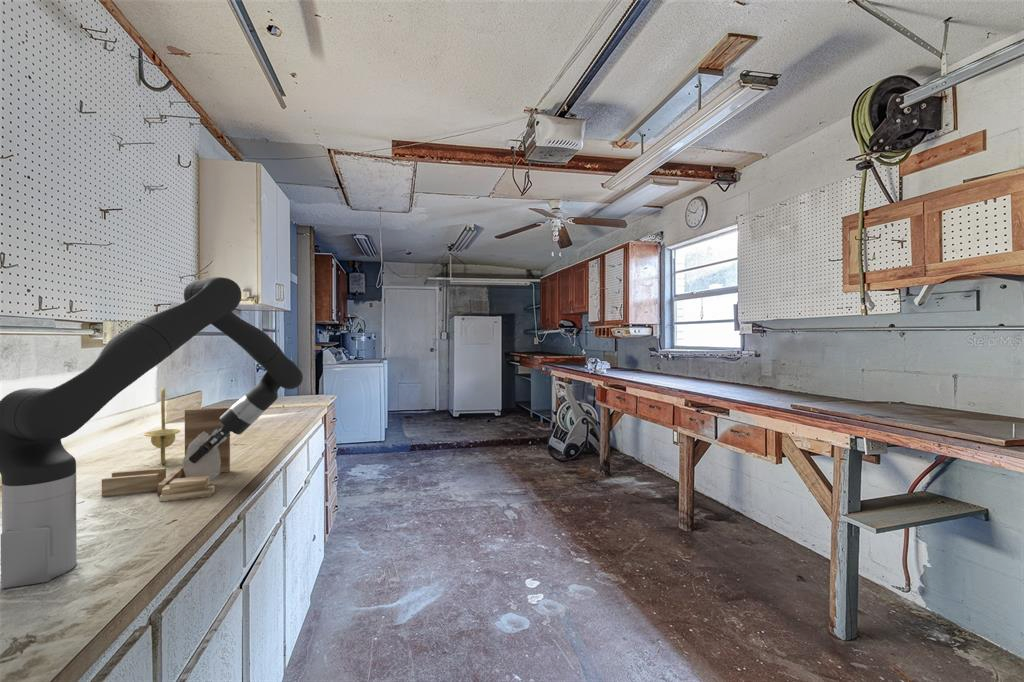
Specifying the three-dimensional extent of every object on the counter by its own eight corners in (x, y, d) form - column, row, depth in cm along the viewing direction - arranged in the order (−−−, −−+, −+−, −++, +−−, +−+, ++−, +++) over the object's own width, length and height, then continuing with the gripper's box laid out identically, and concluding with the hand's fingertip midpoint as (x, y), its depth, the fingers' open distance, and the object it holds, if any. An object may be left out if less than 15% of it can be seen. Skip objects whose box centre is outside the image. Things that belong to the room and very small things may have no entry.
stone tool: (181, 489, 124) (181, 435, 124) (182, 486, 127) (183, 433, 127) (220, 484, 129) (220, 431, 129) (221, 481, 131) (221, 429, 132)
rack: (215, 490, 124) (215, 418, 123) (157, 496, 119) (157, 421, 119) (230, 470, 141) (230, 407, 141) (180, 475, 136) (180, 409, 136)
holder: (157, 491, 123) (157, 474, 123) (101, 496, 118) (101, 479, 118) (166, 483, 129) (166, 467, 129) (113, 487, 125) (113, 471, 125)
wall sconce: (145, 460, 152) (145, 386, 151) (180, 456, 157) (180, 385, 157) (142, 470, 141) (142, 391, 140) (180, 465, 146) (180, 389, 146)
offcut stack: (210, 496, 119) (210, 479, 119) (159, 501, 115) (159, 484, 115) (214, 490, 123) (214, 474, 123) (166, 495, 119) (166, 478, 119)
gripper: (237, 402, 137) (189, 445, 132) (226, 409, 124) (173, 457, 119) (256, 418, 139) (210, 461, 134) (248, 427, 126) (197, 475, 121)
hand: (193, 459), depth 127 cm, fingers closed on stone tool, 2 cm apart
